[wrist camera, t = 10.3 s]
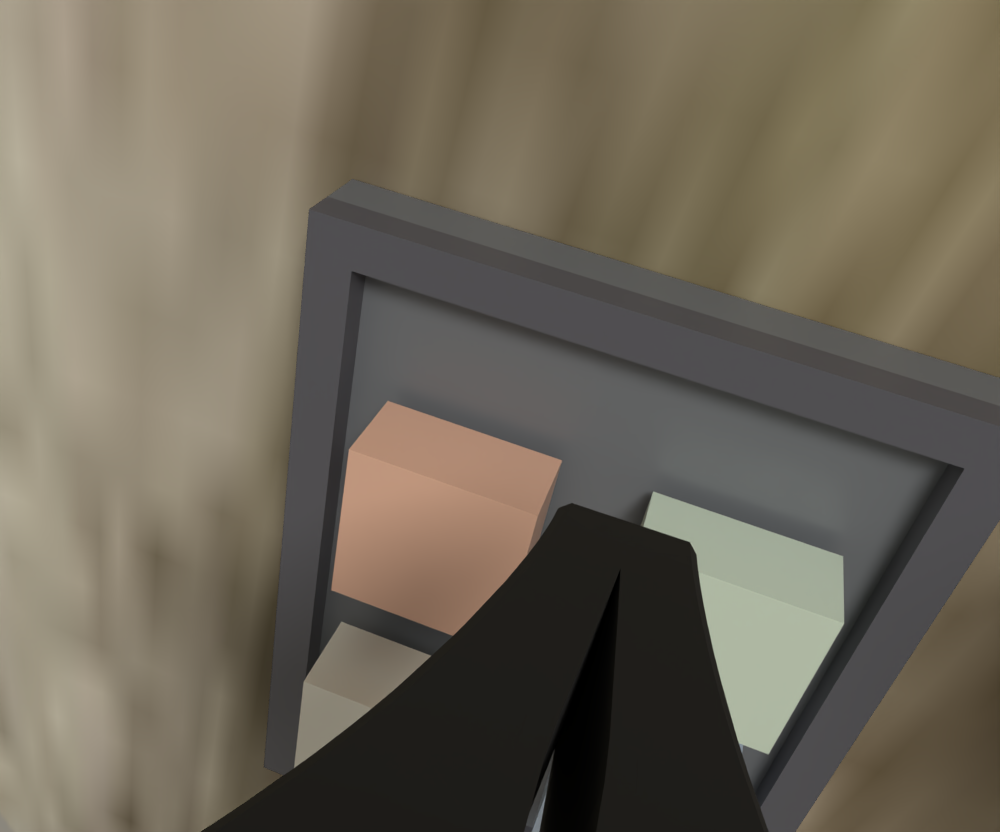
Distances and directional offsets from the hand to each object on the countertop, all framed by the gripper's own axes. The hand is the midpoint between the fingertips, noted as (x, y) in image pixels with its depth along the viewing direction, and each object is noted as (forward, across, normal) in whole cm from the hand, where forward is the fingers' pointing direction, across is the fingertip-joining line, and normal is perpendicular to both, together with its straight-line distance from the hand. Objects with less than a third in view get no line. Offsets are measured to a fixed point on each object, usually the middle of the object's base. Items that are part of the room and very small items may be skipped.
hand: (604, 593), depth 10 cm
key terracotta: (+9, +3, +7) cm, 12 cm away
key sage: (+9, -3, +7) cm, 12 cm away
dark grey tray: (+10, 0, +10) cm, 14 cm away
